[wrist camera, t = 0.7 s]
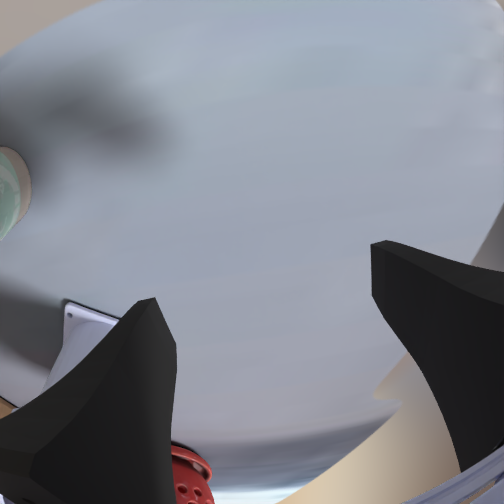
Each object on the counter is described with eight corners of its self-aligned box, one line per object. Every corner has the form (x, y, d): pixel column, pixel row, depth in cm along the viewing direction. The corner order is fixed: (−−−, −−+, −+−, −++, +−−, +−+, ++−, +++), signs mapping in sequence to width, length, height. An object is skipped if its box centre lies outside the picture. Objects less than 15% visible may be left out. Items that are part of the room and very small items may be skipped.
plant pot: (208, 432, 29) (213, 533, 18) (217, 478, 34) (223, 552, 24) (94, 427, 28) (75, 517, 17) (126, 474, 33) (120, 545, 22)
